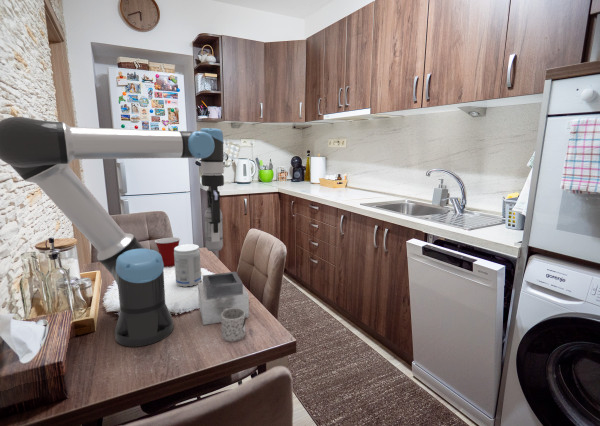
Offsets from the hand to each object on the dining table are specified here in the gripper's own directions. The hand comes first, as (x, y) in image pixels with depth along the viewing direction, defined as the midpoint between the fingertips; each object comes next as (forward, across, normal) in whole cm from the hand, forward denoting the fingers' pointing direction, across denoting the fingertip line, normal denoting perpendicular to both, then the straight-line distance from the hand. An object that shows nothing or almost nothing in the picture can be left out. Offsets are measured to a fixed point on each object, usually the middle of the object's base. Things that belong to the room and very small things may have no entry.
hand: (214, 238), depth 118 cm
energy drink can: (+4, 0, 0) cm, 4 cm away
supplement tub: (+21, +13, +8) cm, 26 cm away
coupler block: (+21, -15, 0) cm, 26 cm away
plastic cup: (+21, +38, +15) cm, 46 cm away
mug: (+21, -29, 0) cm, 36 cm away
